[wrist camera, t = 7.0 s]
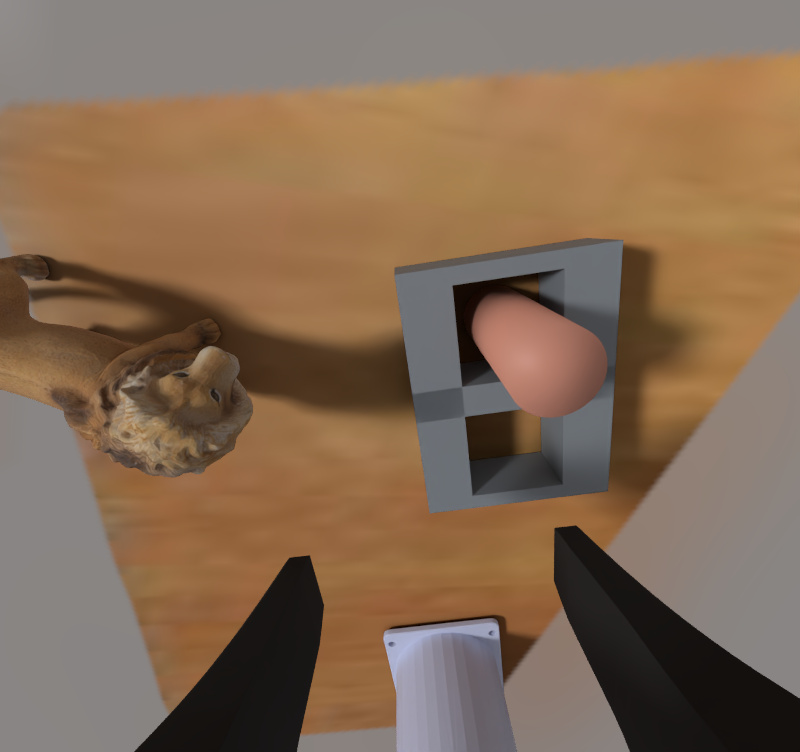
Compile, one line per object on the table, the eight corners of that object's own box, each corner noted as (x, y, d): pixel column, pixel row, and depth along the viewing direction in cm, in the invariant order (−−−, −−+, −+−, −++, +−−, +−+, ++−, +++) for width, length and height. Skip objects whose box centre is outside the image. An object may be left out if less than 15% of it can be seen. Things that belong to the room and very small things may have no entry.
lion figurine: (300, 314, 19) (223, 383, 10) (285, 408, 21) (209, 532, 12) (-21, 238, 17) (-407, 247, 9) (-6, 346, 19) (-314, 438, 11)
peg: (525, 339, 19) (605, 410, 12) (466, 349, 20) (509, 423, 12) (522, 280, 18) (609, 316, 11) (460, 290, 18) (504, 332, 11)
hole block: (580, 457, 22) (607, 491, 19) (425, 477, 22) (429, 513, 20) (587, 238, 18) (623, 240, 15) (394, 267, 18) (394, 275, 15)
